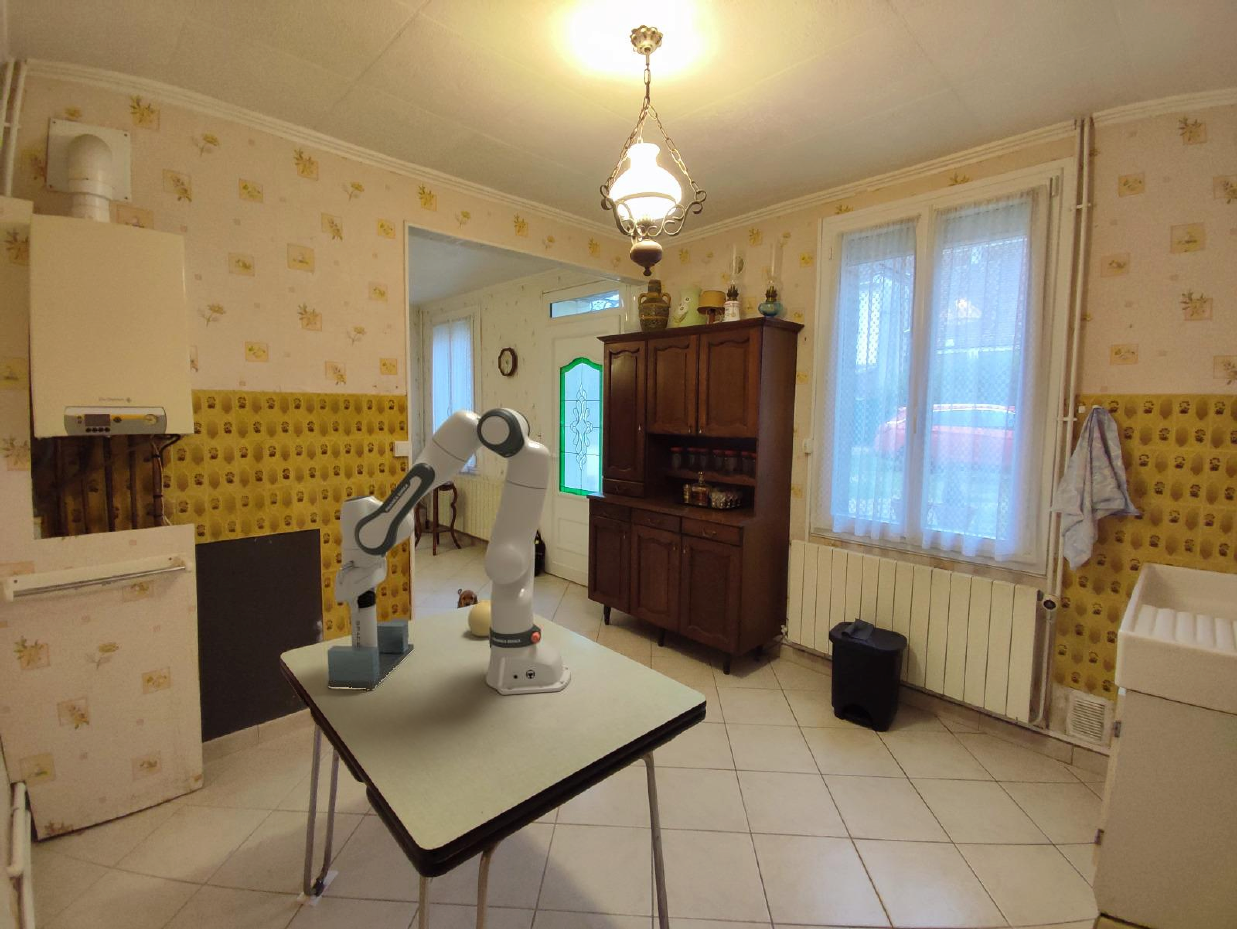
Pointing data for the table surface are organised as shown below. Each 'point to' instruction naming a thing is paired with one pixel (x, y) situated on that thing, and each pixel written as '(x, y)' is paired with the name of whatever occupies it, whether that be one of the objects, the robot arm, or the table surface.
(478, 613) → the sculpture
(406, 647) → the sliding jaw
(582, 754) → the table surface
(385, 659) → the vise
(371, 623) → the travel mug
